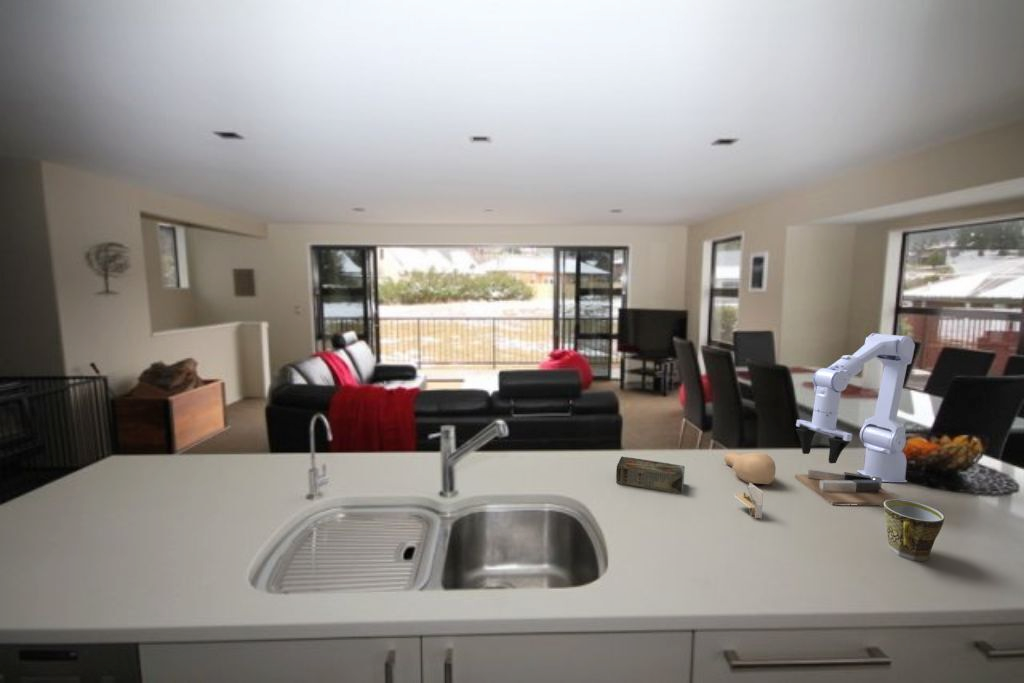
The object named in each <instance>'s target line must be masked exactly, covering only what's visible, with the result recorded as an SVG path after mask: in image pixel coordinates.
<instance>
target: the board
mask: <svg viewBox="0 0 1024 683" xmlns="http://www.w3.org/2000/svg"><path fill="white" fill-rule="evenodd" d="M794 478H795V479H796V478H797V479H796V480H798V481H801V482H800V483H801V484H803V485H804V484H805V486H806V487H807V486H808V487H809V489H810V488H811V489H812V490H811V489H810V490H811V491H813V490H814V491H815V492H816V494H817V493H818V494H819V495H821V496H822V497H823V498H825V499H826V500H828V501H829V502H830V503H832V504H850V505H851V504H857V505H880V506H879V507H884V506H883V505H884V502H885V501H887V500H894V499H896V500H902V498H900V497H898V496H896V495H894V494H892V493H891V492H890V491H887V490H885V488H882V487H881V489H879V493H856V492H822V491H821V490H820V489H819V487H820V479H814V478H808V476H807V474H805V473H804V474H803V473H802V474H799V473H798V474H797V473H796V474H794ZM808 487H807V488H808ZM814 491H813V492H814ZM815 492H814V493H815ZM818 494H817V495H818ZM819 495H818V496H819ZM821 496H820V497H821ZM822 497H821V498H822ZM823 498H822V499H823ZM825 499H824V500H825ZM826 500H825V501H826ZM828 501H827V502H828ZM829 502H828V503H829ZM830 503H829V504H830ZM832 504H831V505H832ZM881 505H882V506H881Z"/></svg>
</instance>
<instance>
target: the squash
mask: <svg viewBox="0 0 1024 683" xmlns="http://www.w3.org/2000/svg"><path fill="white" fill-rule="evenodd" d="M723 459H724V460H723V461H724V463H725V464H726V465H727V466H730V467H731V469H732V470H733V471H734V473H735V474H736V476H737V477H738V479H739V480H741V481H743V482H745V483H747V484H749V483H751V484H753V485H754V484H757V485H770V484H771V483H773V482H774V481H775V476H776V463H775V461H774V460H773V458H772V456H770V455H768V454H767V453H765V452H748V453H743V454H740V453H739V452H737V451H729V452H727V453H725V455H724V458H723Z"/></svg>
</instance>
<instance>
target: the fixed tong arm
mask: <svg viewBox="0 0 1024 683" xmlns="http://www.w3.org/2000/svg"><path fill="white" fill-rule="evenodd" d="M819 489H820V490H821V491H822V492H856V493H879V482H877V481H875V480H852V481H841V480H820V487H819Z"/></svg>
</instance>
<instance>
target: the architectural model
mask: <svg viewBox="0 0 1024 683" xmlns="http://www.w3.org/2000/svg"><path fill="white" fill-rule="evenodd" d="M746 486H747V490H748V494H747V493H746V491H743V494H742V493H741V494H734V497H735V498H736V499H738V500H739V501H740V502H741V503H743V504H744V505H745V506H747V509H748V512H749V514H750V515H751V516H754V519H755V518H760V519H762V518H763V505H764V502H763V501H764V491H763V490H761V489H759V487H757V486H756V485H754V483H748V485H746Z"/></svg>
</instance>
